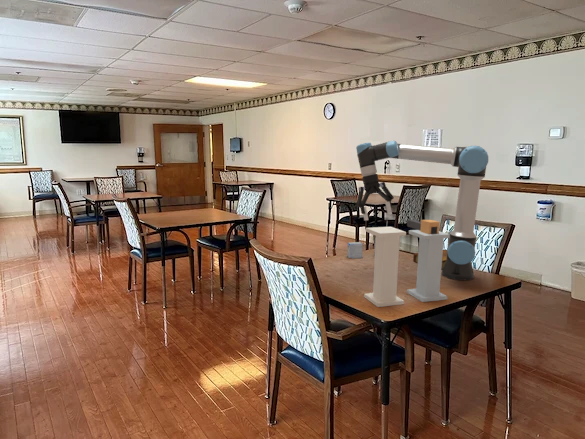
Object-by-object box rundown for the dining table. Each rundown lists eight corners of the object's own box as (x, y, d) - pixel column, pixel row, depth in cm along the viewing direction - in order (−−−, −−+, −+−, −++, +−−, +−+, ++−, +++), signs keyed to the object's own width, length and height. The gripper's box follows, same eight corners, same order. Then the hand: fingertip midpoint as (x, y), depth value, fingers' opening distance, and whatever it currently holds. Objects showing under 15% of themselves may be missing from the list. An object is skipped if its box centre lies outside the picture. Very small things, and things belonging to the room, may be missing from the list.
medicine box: (359, 256, 253) (360, 241, 252) (362, 258, 249) (363, 243, 248) (346, 256, 252) (347, 242, 250) (349, 258, 247) (350, 244, 246)
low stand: (428, 289, 196) (432, 229, 192) (446, 299, 184) (452, 235, 179) (405, 291, 193) (408, 230, 188) (422, 302, 180) (427, 236, 175)
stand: (387, 293, 190) (390, 226, 185) (403, 304, 177) (408, 232, 172) (362, 295, 187) (365, 227, 181) (377, 307, 174) (381, 234, 169)
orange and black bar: (414, 225, 199) (415, 215, 198) (438, 233, 182) (439, 221, 181) (405, 226, 197) (405, 215, 196) (428, 234, 180) (429, 222, 179)
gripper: (386, 171, 219) (395, 212, 219) (343, 180, 210) (352, 222, 211) (395, 169, 212) (403, 211, 212) (351, 178, 203) (360, 222, 204)
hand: (378, 217), depth 211 cm, fingers open, 13 cm apart
